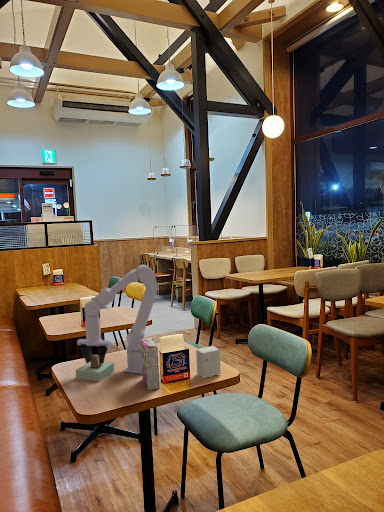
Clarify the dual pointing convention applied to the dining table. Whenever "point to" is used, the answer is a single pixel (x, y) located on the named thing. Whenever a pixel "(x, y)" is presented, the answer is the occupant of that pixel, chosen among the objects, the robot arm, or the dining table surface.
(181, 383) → the dining table surface
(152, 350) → the candy bar box
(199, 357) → the small box
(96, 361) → the walnut peg
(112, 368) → the socket block
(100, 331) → the robot arm
